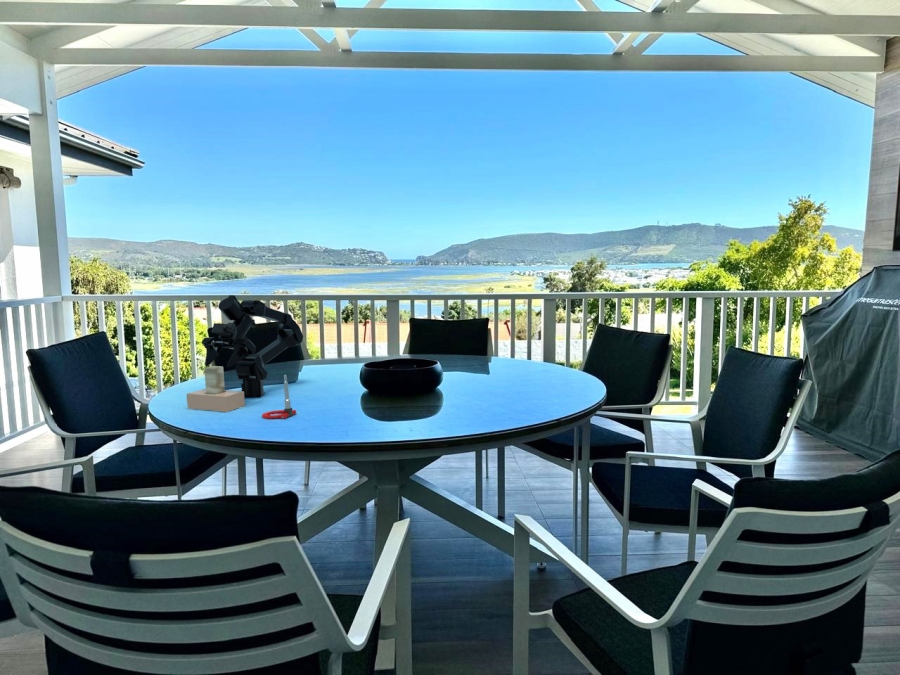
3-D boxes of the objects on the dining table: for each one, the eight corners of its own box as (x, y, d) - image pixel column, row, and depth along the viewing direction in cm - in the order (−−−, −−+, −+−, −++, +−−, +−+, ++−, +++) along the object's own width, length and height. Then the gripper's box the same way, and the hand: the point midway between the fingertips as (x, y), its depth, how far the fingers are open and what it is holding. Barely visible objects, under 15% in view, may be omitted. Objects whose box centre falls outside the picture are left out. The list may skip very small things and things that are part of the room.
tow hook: (256, 420, 175) (283, 420, 172) (252, 377, 173) (279, 377, 171) (272, 413, 183) (298, 413, 180) (268, 372, 181) (294, 372, 179)
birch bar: (216, 403, 192) (213, 366, 191) (225, 404, 191) (223, 366, 190) (206, 406, 189) (204, 368, 187) (216, 406, 187) (214, 368, 186)
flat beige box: (207, 403, 197) (206, 388, 196) (244, 406, 191) (243, 391, 190) (187, 408, 189) (186, 393, 188) (226, 412, 183) (225, 396, 183)
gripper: (203, 313, 196) (179, 350, 187) (247, 314, 189) (225, 352, 180) (222, 334, 204) (200, 370, 195) (265, 335, 197) (244, 373, 188)
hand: (216, 366), depth 190 cm, fingers open, 9 cm apart
